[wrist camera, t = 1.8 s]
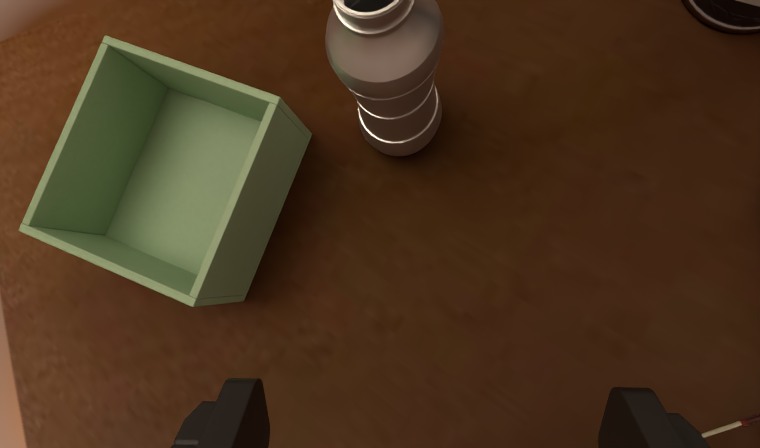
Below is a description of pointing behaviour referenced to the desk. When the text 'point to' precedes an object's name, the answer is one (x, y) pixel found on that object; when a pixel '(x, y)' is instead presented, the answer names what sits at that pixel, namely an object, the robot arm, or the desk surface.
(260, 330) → the desk surface
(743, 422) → the sunglasses
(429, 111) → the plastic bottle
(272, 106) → the storage bin
